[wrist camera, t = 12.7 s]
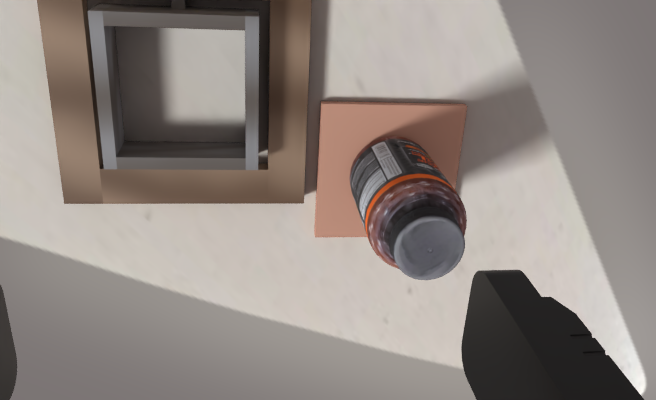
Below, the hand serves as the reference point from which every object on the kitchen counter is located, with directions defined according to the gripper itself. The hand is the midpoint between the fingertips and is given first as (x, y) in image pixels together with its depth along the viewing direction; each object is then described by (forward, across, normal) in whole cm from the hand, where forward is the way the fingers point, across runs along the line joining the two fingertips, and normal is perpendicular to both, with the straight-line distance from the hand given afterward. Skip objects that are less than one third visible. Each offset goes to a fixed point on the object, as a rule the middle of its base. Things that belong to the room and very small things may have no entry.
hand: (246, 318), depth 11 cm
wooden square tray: (+32, +4, +4) cm, 32 cm away
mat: (+32, -10, +10) cm, 35 cm away
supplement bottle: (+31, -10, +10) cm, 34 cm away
